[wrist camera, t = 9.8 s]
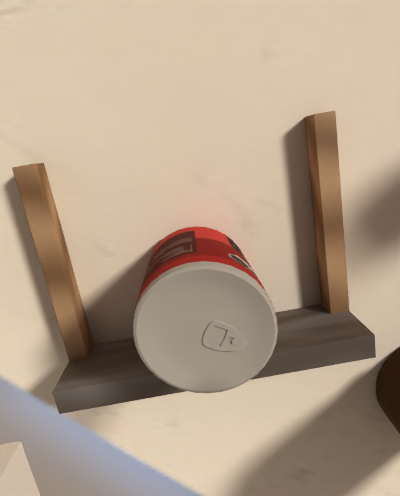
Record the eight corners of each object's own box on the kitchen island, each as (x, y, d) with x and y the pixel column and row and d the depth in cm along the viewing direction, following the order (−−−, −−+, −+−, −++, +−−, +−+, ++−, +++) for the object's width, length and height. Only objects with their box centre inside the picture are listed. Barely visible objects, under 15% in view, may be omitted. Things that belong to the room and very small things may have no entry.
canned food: (239, 316, 31) (268, 399, 21) (145, 308, 31) (127, 390, 20) (251, 229, 30) (291, 271, 19) (152, 219, 29) (135, 258, 18)
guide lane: (24, 166, 27) (-19, 170, 22) (324, 113, 27) (362, 103, 22) (81, 366, 32) (59, 413, 26) (340, 320, 32) (375, 357, 26)
